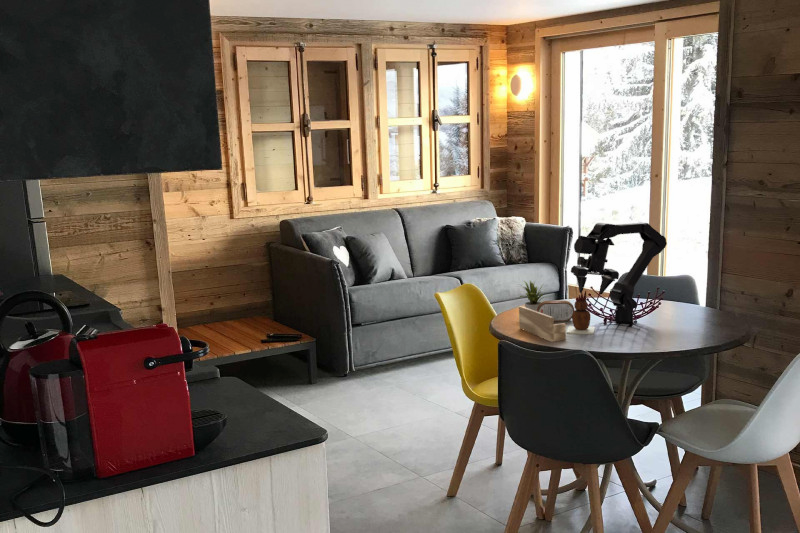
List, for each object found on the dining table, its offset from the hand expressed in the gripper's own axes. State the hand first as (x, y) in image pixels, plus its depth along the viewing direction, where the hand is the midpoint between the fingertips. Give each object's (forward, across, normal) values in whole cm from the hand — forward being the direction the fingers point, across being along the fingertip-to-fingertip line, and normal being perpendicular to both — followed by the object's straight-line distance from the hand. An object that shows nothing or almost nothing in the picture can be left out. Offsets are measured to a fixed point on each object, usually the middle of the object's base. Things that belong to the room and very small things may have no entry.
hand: (590, 293), depth 309 cm
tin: (+16, +6, -11) cm, 20 cm away
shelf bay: (+16, +21, +5) cm, 27 cm away
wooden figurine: (+13, +6, +8) cm, 16 cm away
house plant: (+18, +11, -22) cm, 31 cm away
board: (+13, +6, +8) cm, 16 cm away
